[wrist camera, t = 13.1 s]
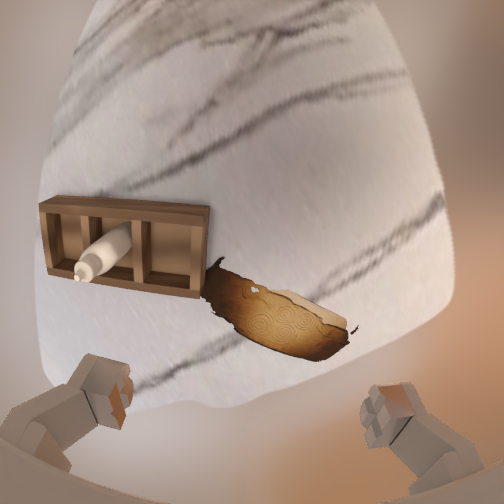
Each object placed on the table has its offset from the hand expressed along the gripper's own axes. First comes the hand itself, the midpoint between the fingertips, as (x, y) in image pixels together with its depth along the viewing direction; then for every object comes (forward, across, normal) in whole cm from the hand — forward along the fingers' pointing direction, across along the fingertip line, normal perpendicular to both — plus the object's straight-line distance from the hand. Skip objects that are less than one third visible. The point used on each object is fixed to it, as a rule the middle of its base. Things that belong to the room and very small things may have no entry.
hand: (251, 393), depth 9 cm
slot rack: (+29, +17, +7) cm, 34 cm away
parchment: (+30, -5, +17) cm, 35 cm away
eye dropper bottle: (+28, +17, +7) cm, 33 cm away
